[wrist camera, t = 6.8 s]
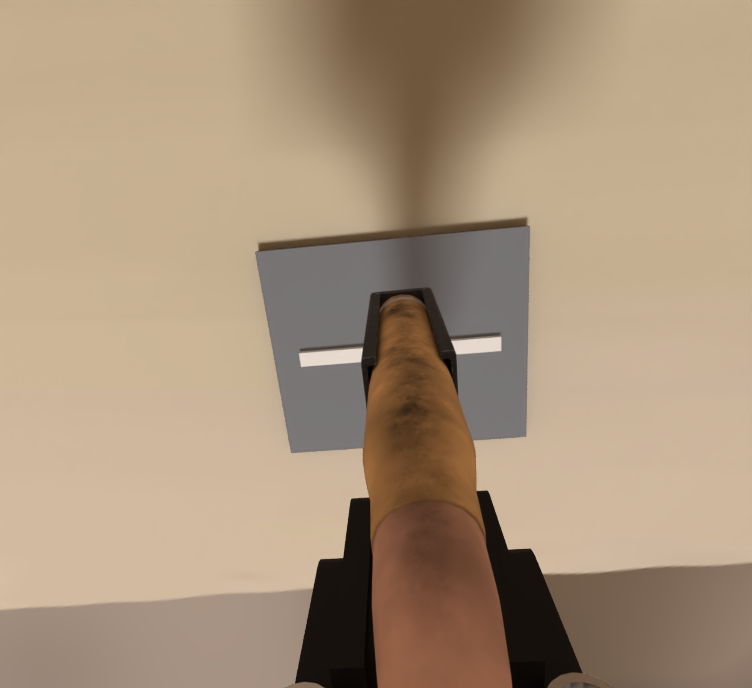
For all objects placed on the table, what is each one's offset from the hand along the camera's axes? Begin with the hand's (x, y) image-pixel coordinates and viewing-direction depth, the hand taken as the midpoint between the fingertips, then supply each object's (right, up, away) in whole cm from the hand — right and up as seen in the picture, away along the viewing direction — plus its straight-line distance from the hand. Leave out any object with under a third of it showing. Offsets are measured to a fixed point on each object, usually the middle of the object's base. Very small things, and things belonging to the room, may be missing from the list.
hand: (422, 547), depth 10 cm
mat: (0, +5, +14) cm, 15 cm away
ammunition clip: (0, +1, +5) cm, 5 cm away
